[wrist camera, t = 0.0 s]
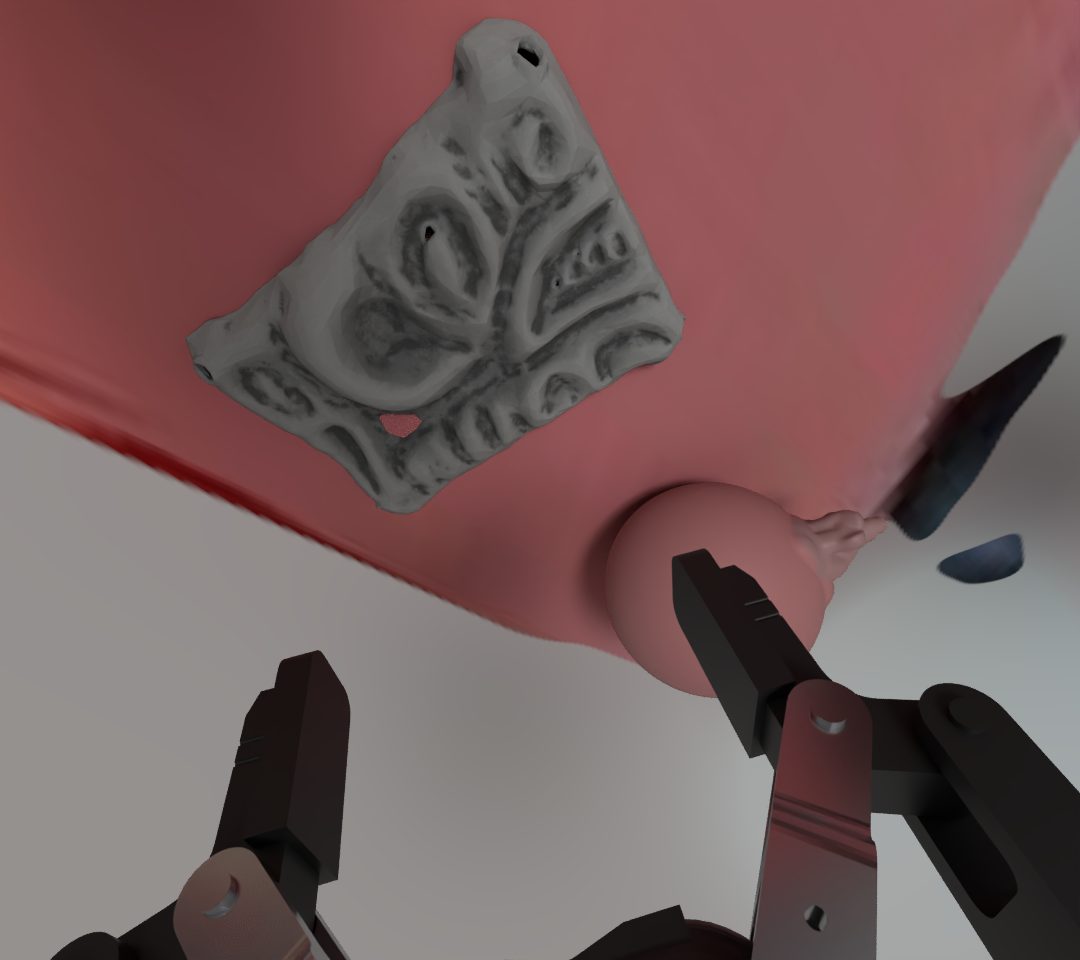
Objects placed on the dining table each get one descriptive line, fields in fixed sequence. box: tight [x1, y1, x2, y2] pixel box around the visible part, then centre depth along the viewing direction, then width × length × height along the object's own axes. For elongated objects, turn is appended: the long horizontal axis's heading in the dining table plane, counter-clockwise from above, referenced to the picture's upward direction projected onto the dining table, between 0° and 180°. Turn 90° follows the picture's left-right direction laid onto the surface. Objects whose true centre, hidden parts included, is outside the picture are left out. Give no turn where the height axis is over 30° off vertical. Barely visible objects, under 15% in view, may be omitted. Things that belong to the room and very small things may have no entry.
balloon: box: [604, 482, 887, 698], centre depth 41 cm, size 15×20×15 cm
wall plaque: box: [186, 18, 685, 514], centre depth 31 cm, size 24×19×4 cm
